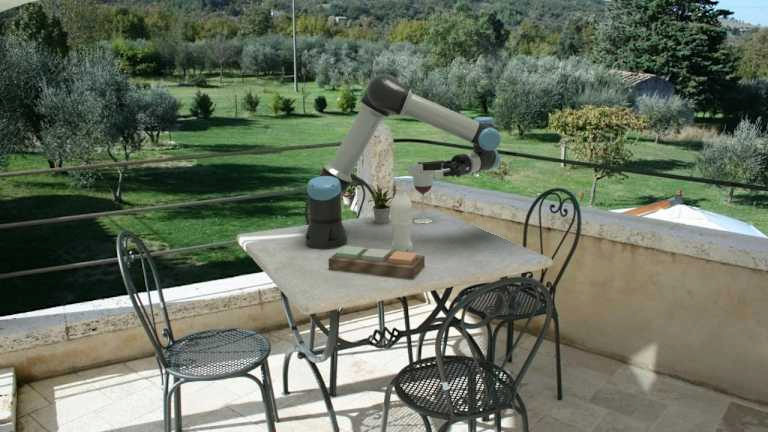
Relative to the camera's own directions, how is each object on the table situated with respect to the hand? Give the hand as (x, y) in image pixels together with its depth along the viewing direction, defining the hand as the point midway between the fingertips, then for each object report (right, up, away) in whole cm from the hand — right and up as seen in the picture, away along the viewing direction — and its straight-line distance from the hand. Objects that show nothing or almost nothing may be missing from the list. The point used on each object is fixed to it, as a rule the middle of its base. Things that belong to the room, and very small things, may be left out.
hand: (421, 172), depth 209 cm
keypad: (-15, -31, -12) cm, 37 cm away
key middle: (-15, -29, -13) cm, 35 cm away
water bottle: (-7, -28, +1) cm, 28 cm away
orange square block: (-7, -30, -16) cm, 34 cm away
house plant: (-15, -17, +40) cm, 46 cm away
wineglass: (+3, -17, +40) cm, 43 cm away
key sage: (-23, -28, -10) cm, 38 cm away
